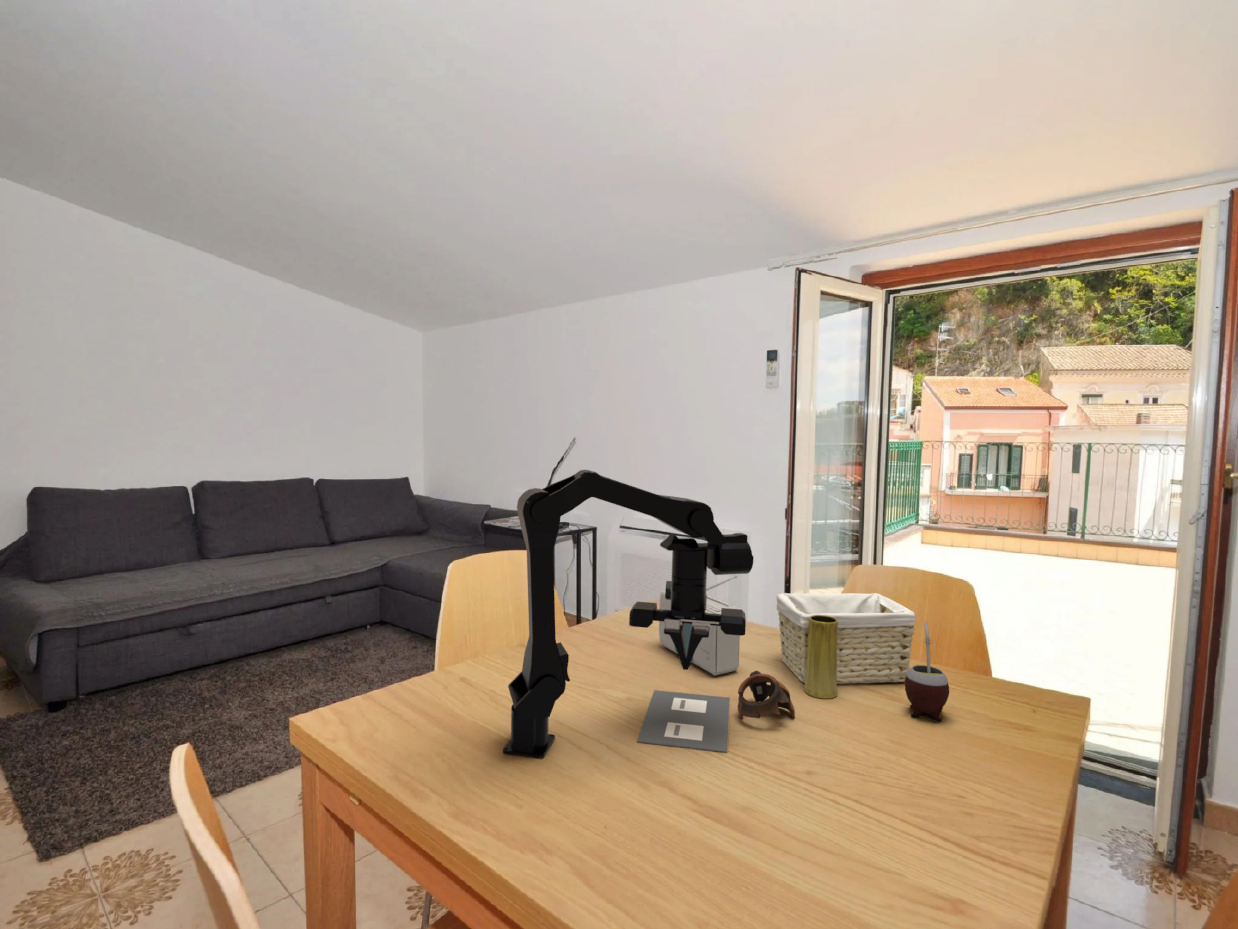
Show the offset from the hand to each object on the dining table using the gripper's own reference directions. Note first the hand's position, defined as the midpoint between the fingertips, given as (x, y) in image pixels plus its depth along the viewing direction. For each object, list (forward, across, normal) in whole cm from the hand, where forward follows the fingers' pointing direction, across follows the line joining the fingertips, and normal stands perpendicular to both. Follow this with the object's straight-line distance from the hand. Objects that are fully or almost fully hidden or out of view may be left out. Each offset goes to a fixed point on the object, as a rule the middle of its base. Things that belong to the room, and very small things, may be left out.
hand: (685, 669), depth 104 cm
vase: (+10, -25, -20) cm, 33 cm away
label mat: (+10, 0, -3) cm, 10 cm away
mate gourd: (+10, -42, -14) cm, 45 cm away
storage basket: (+10, -30, -32) cm, 45 cm away
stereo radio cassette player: (+10, -1, -32) cm, 33 cm away
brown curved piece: (+10, -14, -8) cm, 18 cm away
